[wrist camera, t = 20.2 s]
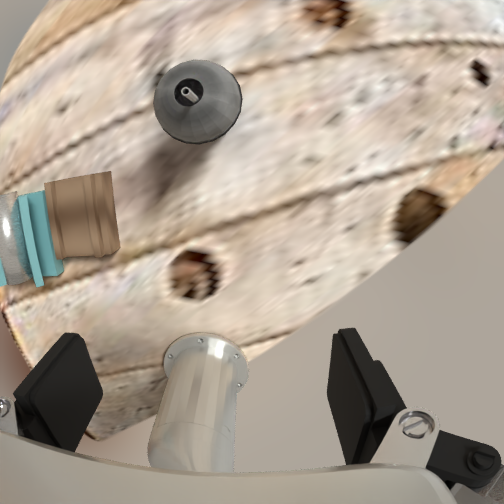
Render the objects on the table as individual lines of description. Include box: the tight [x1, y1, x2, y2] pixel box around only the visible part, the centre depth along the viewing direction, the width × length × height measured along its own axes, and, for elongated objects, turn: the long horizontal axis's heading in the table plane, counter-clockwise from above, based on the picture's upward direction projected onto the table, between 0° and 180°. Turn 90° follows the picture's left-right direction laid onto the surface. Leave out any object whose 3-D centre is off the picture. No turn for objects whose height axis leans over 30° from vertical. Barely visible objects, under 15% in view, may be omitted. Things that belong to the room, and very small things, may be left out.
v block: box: [0, 190, 64, 287], centre depth 35 cm, size 12×10×6 cm
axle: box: [0, 191, 33, 285], centre depth 33 cm, size 12×4×4 cm, turn 3°
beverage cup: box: [153, 60, 242, 144], centre depth 24 cm, size 7×7×20 cm
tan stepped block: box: [44, 171, 120, 260], centre depth 35 cm, size 10×9×4 cm
